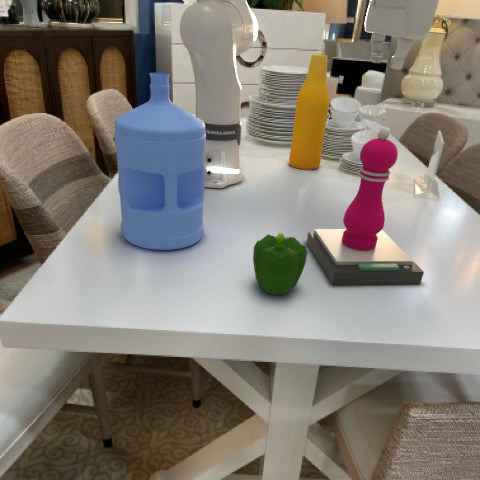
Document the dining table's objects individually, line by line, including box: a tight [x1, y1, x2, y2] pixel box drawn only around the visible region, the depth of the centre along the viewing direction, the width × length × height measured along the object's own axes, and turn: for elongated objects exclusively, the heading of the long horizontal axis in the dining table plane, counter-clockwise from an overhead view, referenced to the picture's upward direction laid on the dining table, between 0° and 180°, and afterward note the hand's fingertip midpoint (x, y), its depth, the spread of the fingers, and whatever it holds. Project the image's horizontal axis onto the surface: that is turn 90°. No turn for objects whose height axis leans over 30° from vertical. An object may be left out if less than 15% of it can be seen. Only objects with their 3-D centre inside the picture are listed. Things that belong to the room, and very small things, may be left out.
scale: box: [306, 228, 425, 286], centre depth 87 cm, size 16×17×3 cm
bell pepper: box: [252, 232, 308, 296], centre depth 75 cm, size 8×8×10 cm
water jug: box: [114, 72, 206, 251], centre depth 84 cm, size 16×16×28 cm
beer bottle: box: [288, 53, 331, 171], centre depth 133 cm, size 9×9×29 cm
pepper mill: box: [342, 128, 398, 250], centre depth 81 cm, size 7×7×20 cm
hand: (384, 65), depth 85 cm, fingers open, 8 cm apart
